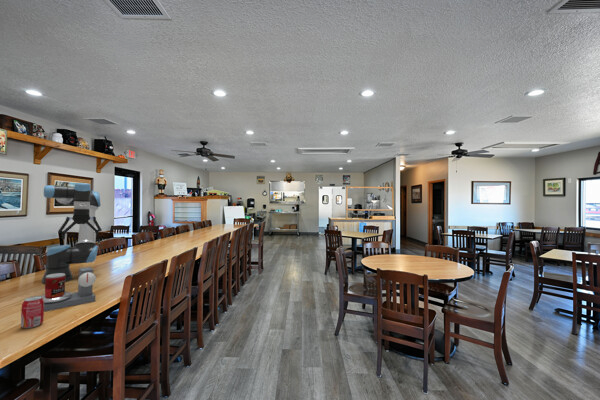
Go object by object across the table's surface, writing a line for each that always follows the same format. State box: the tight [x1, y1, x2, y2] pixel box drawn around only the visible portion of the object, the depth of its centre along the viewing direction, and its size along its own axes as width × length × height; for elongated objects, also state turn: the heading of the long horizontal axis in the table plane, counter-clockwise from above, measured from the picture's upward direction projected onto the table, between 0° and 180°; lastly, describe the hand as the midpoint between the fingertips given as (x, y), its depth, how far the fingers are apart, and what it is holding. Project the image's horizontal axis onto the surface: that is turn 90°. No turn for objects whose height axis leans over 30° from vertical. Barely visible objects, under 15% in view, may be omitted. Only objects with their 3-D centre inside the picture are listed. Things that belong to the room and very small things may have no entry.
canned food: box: [44, 273, 66, 299], centre depth 138 cm, size 8×8×11 cm
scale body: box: [44, 266, 97, 313], centre depth 141 cm, size 14×24×17 cm, turn 138°
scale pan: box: [41, 291, 73, 303], centre depth 138 cm, size 14×14×2 cm
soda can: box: [20, 295, 45, 329], centre depth 116 cm, size 7×7×12 cm
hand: (80, 243), depth 159 cm, fingers open, 13 cm apart
